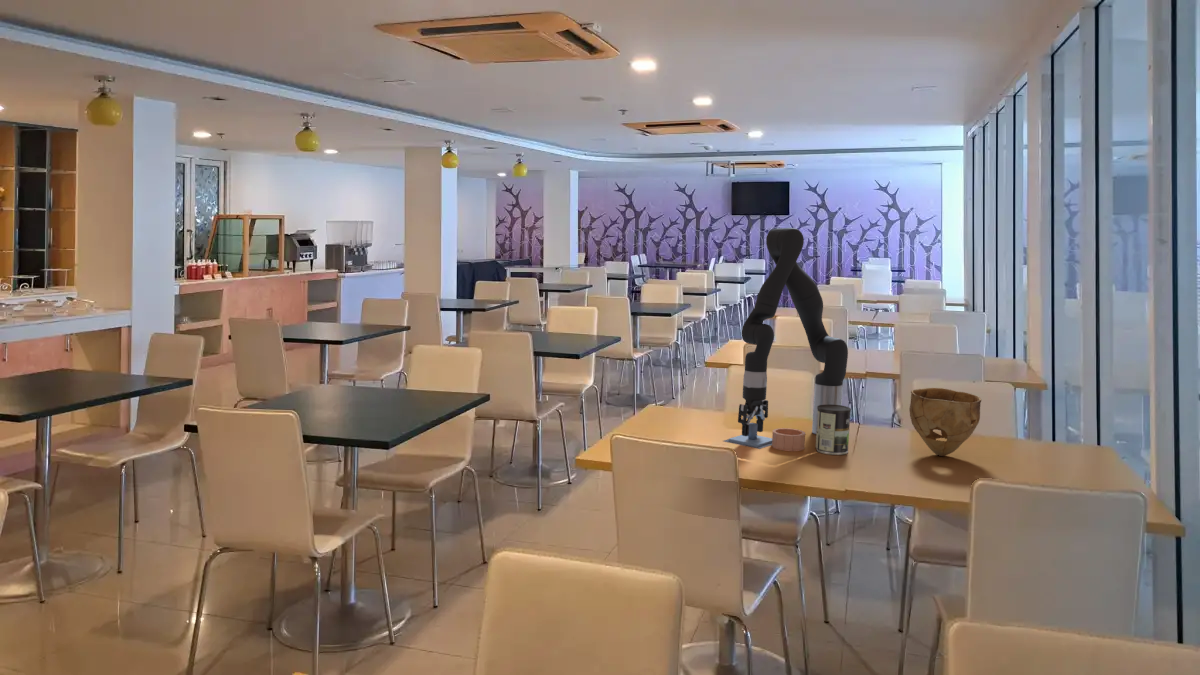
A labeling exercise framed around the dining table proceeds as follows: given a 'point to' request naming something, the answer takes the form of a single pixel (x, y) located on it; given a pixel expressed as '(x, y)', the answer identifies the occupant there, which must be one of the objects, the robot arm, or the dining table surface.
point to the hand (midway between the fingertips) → (752, 433)
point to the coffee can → (832, 429)
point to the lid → (752, 437)
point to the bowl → (944, 417)
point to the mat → (749, 445)
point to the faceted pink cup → (788, 439)
